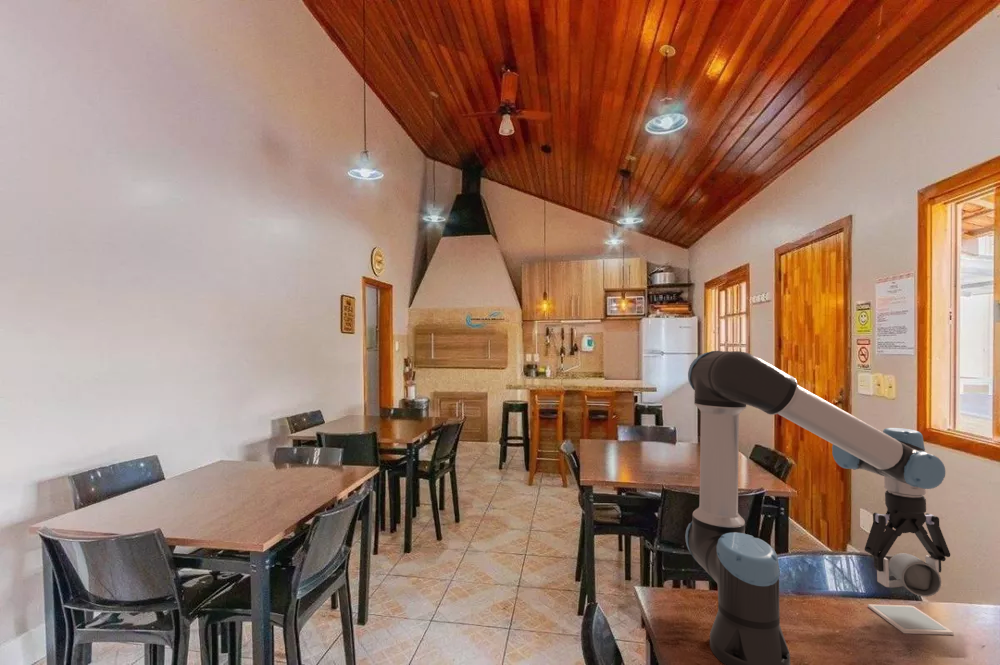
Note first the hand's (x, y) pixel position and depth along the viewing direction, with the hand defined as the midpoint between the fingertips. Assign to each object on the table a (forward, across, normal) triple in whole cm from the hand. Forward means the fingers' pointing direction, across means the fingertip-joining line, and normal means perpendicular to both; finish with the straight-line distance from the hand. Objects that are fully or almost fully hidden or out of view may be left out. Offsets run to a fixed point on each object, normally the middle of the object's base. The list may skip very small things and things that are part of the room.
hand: (907, 584), depth 112 cm
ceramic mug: (+1, 0, 0) cm, 1 cm away
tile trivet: (+8, 0, 0) cm, 8 cm away
